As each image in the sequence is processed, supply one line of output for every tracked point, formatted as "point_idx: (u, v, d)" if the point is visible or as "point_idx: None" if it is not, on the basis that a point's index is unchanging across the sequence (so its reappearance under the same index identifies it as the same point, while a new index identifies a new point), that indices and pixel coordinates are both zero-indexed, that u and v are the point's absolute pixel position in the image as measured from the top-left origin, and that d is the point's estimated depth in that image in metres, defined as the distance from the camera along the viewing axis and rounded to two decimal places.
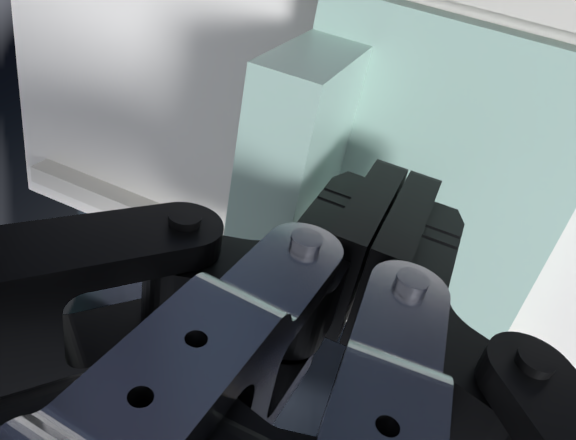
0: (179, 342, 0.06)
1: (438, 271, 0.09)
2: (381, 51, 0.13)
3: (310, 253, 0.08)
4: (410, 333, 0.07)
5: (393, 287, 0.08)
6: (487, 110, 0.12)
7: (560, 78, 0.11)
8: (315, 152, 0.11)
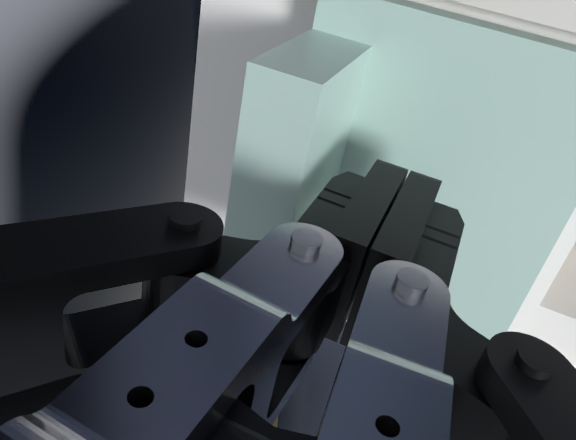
0: (179, 342, 0.06)
1: (438, 271, 0.09)
2: (381, 51, 0.13)
3: (310, 253, 0.08)
4: (410, 333, 0.07)
5: (393, 287, 0.08)
6: (487, 110, 0.12)
7: (559, 78, 0.11)
8: (315, 152, 0.11)
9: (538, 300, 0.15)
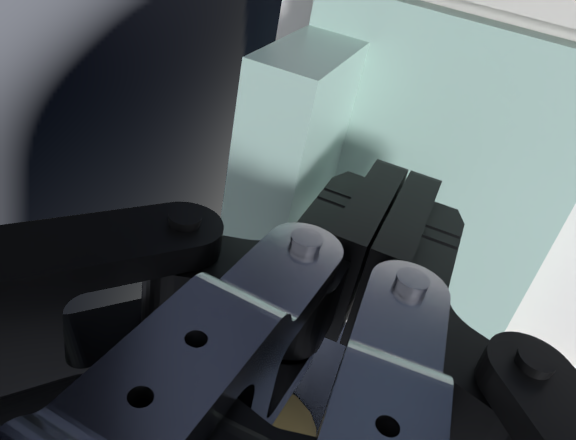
0: (179, 342, 0.06)
1: (438, 271, 0.09)
2: (378, 47, 0.12)
3: (310, 253, 0.08)
4: (410, 333, 0.07)
5: (393, 287, 0.08)
6: (485, 107, 0.12)
7: (558, 75, 0.11)
8: (311, 149, 0.11)
9: None
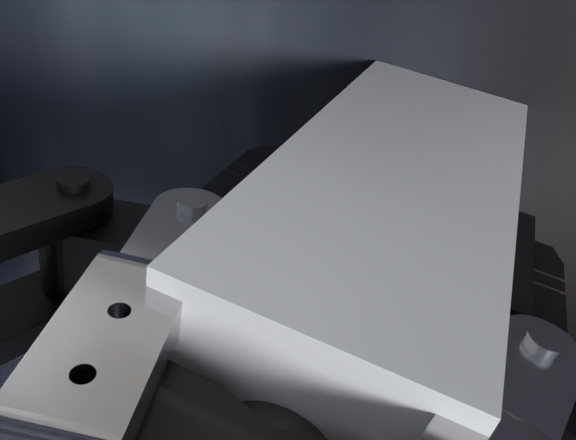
0: (104, 317, 0.06)
1: (552, 321, 0.09)
2: None
3: (199, 214, 0.09)
4: (530, 393, 0.07)
5: (526, 348, 0.07)
6: None
7: None
8: None
9: None
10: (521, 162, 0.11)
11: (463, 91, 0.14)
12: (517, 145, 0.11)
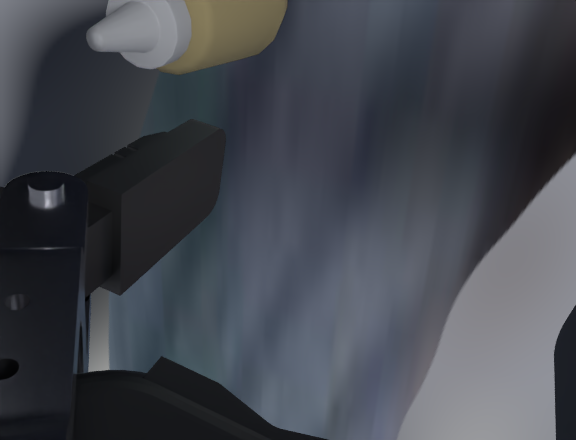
0: (4, 311, 0.06)
1: None
2: None
3: (57, 196, 0.08)
4: None
5: None
6: None
7: None
8: None
9: None
10: None
11: None
12: None
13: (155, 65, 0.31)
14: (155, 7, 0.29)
